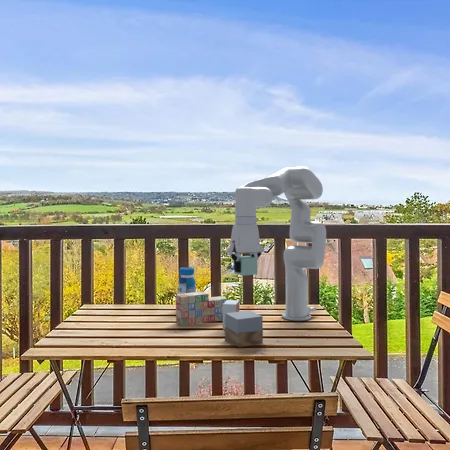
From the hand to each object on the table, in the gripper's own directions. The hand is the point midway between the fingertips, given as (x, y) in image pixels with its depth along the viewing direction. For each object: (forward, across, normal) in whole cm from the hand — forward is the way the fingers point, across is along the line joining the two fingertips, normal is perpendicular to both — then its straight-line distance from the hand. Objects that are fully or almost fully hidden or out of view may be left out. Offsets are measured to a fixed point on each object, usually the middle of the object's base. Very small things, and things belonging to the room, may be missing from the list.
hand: (245, 271), depth 165 cm
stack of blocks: (+26, 0, -34) cm, 43 cm away
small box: (+26, -5, -18) cm, 32 cm away
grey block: (+21, 0, -1) cm, 21 cm away
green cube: (+1, 0, 0) cm, 1 cm away
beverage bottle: (+26, -2, -54) cm, 60 cm away
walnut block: (+26, 0, 0) cm, 26 cm away
